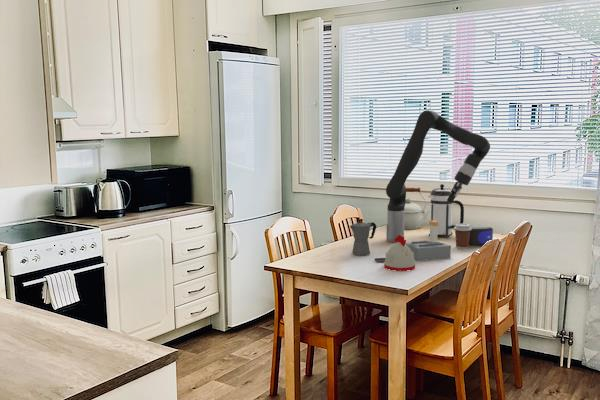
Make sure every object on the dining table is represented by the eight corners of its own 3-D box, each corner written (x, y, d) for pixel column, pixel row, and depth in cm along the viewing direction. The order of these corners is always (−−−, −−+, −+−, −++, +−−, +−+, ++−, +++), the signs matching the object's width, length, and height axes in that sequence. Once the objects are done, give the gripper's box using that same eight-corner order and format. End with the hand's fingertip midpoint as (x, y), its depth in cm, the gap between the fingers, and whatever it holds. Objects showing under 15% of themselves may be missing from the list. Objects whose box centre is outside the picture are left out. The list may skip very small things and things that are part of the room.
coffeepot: (354, 257, 282) (354, 221, 280) (345, 253, 291) (345, 218, 288) (381, 254, 289) (381, 218, 286) (371, 250, 297) (371, 216, 295)
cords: (376, 262, 272) (376, 260, 271) (374, 260, 276) (374, 258, 275) (410, 261, 274) (410, 258, 274) (407, 258, 278) (407, 256, 278)
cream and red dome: (395, 272, 254) (395, 239, 252) (378, 265, 266) (379, 234, 264) (421, 269, 259) (421, 236, 257) (404, 262, 272) (404, 231, 270)
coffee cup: (456, 244, 308) (457, 222, 306) (473, 246, 303) (474, 224, 301) (450, 247, 301) (451, 225, 299) (467, 249, 295) (468, 227, 294)
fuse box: (435, 251, 293) (435, 238, 292) (450, 257, 280) (451, 243, 279) (403, 254, 288) (404, 240, 287) (417, 260, 274) (418, 246, 273)
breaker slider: (433, 241, 287) (434, 220, 285) (439, 243, 282) (440, 221, 280) (426, 242, 286) (427, 220, 284) (432, 244, 281) (433, 222, 279)
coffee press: (435, 239, 322) (437, 186, 317) (423, 233, 337) (424, 183, 333) (463, 237, 326) (465, 185, 321) (450, 232, 341) (451, 182, 337)
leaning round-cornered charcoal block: (465, 246, 303) (466, 229, 302) (462, 244, 307) (462, 227, 306) (495, 245, 305) (495, 228, 303) (491, 243, 309) (491, 226, 308)
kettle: (389, 229, 351) (390, 189, 348) (390, 224, 369) (390, 185, 366) (431, 230, 347) (432, 189, 344) (429, 224, 365) (430, 186, 362)
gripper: (458, 172, 294) (443, 200, 295) (458, 168, 281) (441, 197, 282) (472, 179, 292) (456, 207, 293) (472, 175, 278) (455, 204, 279)
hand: (449, 202), depth 287 cm, fingers open, 8 cm apart
